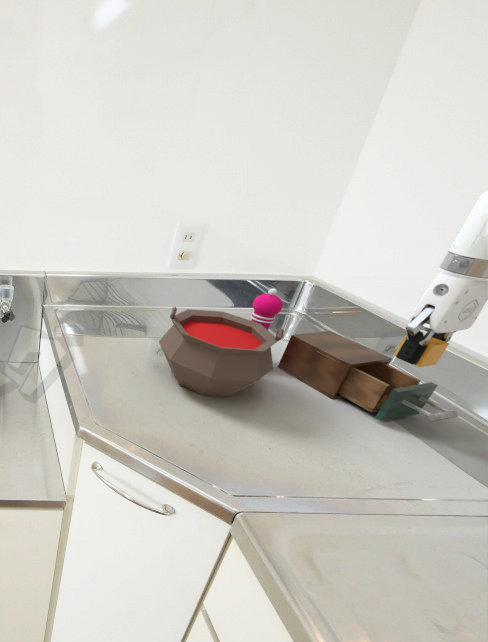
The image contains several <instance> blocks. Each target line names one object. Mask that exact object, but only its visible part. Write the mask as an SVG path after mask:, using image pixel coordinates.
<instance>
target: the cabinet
mask: <svg viewBox="0 0 488 642" xmlns="http://www.w3.org/2000/svg"><path fill="white" fill-rule="evenodd" d="M392 360H393V358H392V357H389V356H388V355H385V354H383V353H381V352H378V351H376V350H374V349H372V348H369V347H367V346H366V345H363V344H360V343H358V342H356V341H354V340H352V339H350V338H348V337H345V336H343V335H340V334H338V333H336V332H334V331H332V330H324V331H316V332H314V331H313V332H306V333H297V334H291V335H290V338H289V340H288V342H287V344H286V346H285V349H284V351H283V353H282V356H281V358H280V360H279V362H278V364H277V368H278V369H280V370H282V371H284V372H285V373H287V374H289V375H290V376H292V377H293V378H295V379H296V380H299V381H300V382H302V383H304V384H305V385H307V386H309V387H311V388H312V389H314V390H315V391H317V392H319V393H321V394H323V395H324V396H325V397H328V398H329V399H331V400H336V399H343V398H344V397H343V396H341V395H340V394H338V392H339V390H340V388H341V386H342V385H343V383H344V381H345V379H346V377H347V375H348V374H349V372H350V370H351V368H352V367H357V366H364V365H371V364H378V363H385V364H388V365H390V363H391V362H392Z"/></svg>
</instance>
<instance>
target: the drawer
mask: <svg viewBox="0 0 488 642" xmlns="http://www.w3.org/2000/svg"><path fill="white" fill-rule="evenodd" d="M421 381H422V379H420V378H418V377H416V376H413V375H411V374H409V373H407V372H405V371H403V370H401V369H398V368H396V367H394V366H391V365H390V364H389V365H388V364H385V363H378V364H371V365H364V366H357V367H352V368H351V370H350V372H349V374H348V375H347V377H346V379H345V381H344V383H343V385H342V386H341V388H340V390H339V392H338V394H340V395H341V396H343V398H345V399H347V400H348V401H350V402H351V403H353V404H356V405H357V406H359V407H361V408H362V409H364V410H366V411H367V412H369V413H376V415H375V417H374V418H375V420H377V421H379V422H383V421H389V420H393V419H395V420H396V419H400V418H404V417H405V418H406V417H409V416H414V415H419V414H422V415H425V416H426V417H428V420H429V421H430V422H441V421H445V420H449V419H453V418H454V419H455V418H457V417H458V416H459V412H458V411H457V410H454V409H451V410H449V409H448V408H446V407H443V406H441V405H439V404H437V403H435V402H433V401H431V400H430V399H431V396H432V395H433V394H434V393H435V390H437V387H438V386H439V385H438V384H436V383H435V382H431V381H430V382H425V383H421ZM426 405H428V406H430V407H432V408H435V409H436V410H438V411H440V412H435V413H431V412H429V411H427V410H425V409H424V407H425V406H426Z"/></svg>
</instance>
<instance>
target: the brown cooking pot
mask: <svg viewBox="0 0 488 642" xmlns="http://www.w3.org/2000/svg"><path fill="white" fill-rule="evenodd" d="M177 310H178V308H177V307H176V306H174V307H172V309H171V312H170V315H169V317H170V320H171V322H172V325H171V327H170V328H169V329H168V330H167V331H166V332H165V333H164V335H163V336H162V337H160V339H159V340H158V343H159V346H160V348H161V350H162V352H163V354H164V358H165V359H166V361H167V363H168V366H169V368H170V371H171V372H172V374H173V376H174V378H175V379H176V381H177V383H178V384H179V386H181V387H184V388H186V389H189V391H190V390H191V391H192V392H194V393H197V394H200V396H201V395H202V396H209V397H221V398H228V397H230V396H232V395H234V394H236V393H238V392H240V391H242V390H244V389H246V388H247V387H249V386H251V385H254V384H256V383H257V382H258V381H260V380H261V379H262V378H263V377H265V376H266V375H267V374H268V373H269V372H271V371H272V370H273V369H274V362H273V353H272V346H275V344H277V343H278V342H279V341H281V340H282V339H283V338H284V333H285V330H284V328H279V329H278V330H277V331H276V333H275V335H274V333H272V332H270V330H269V329H268V330H267V329H266V328H265V327H264V326H262V325H261V324H259V323H256V322H253V321H251V319H247V318H244V317H241V316H238V315H236V314H233V313H228V312H225V311H219V310H218V311H217V310H205V309H191V308H187V309H185V310H183V311H180V312H178V313H177Z"/></svg>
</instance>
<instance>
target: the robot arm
mask: <svg viewBox="0 0 488 642" xmlns="http://www.w3.org/2000/svg"><path fill="white" fill-rule="evenodd" d="M437 270H438V271H439V273H438V274H437V275H436V277H435V278H434V279H433V280H432V282H431V283H430V285H428V288H427V289H426V290H425V292H424V294H422V296H421V298H420V299H419V301H418V303H417V304H416V306H415V308H414V309H413V311H412V313H411V316H410V318H409V323H408V324H407V325H406V326H405V330H406V332H407V333H406V335H407V336H406V335H405V336H406V338H405V337H404V338H405V339H406V340H405V342H404V343H403V345H402V347H401V349H400V350H399V352H398V354H397V355H396V357H395V358H397V359H399V360H401V361H404V362H405V363H408V364H410V365H414V364H417V363H418V361H419V359H420V358H421V356H422V354H423V353H424V351H425V350H426V348H427V346H426V345H425V344H426V343H427V342H428V341H429V339H430V338H431V337H433V338H436V339H439V340H441V341H444V342H447V343H449V342H450V341H451V339H452V337H453V335H454V333H456V332H459V331H464V330H468V329H471V328H472V327H473V325H474V323H475V322H476V320H477V319H478V317H479V315H480V313H481V312H482V311H483V309H484V306H485V305H486V303H487V301H488V189H487V190H486V191H484V192H483V193H482V194H481V195H480V196H479V198H478V199H477V201H476V202H475V204H474V206H473V207H472V209H471V211H470V212H469V214H468V216H467V218H466V220H465V221H464V223H463V225H462V227H461V228H460V230H459V232H458V234H457V235H456V237H455V239H454V241H453V242H452V244H451V246H450V247H449V249H448V251H447V253H446V255H445V256H444V258H443V259H442V261H441V263H440V265H439V267H438V269H437ZM425 324H426V325H428V326H429V327H427V326H425ZM423 331H424V332H425V333H424V332H423ZM423 334H425V335H424V336H423ZM414 366H415V365H414Z"/></svg>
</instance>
